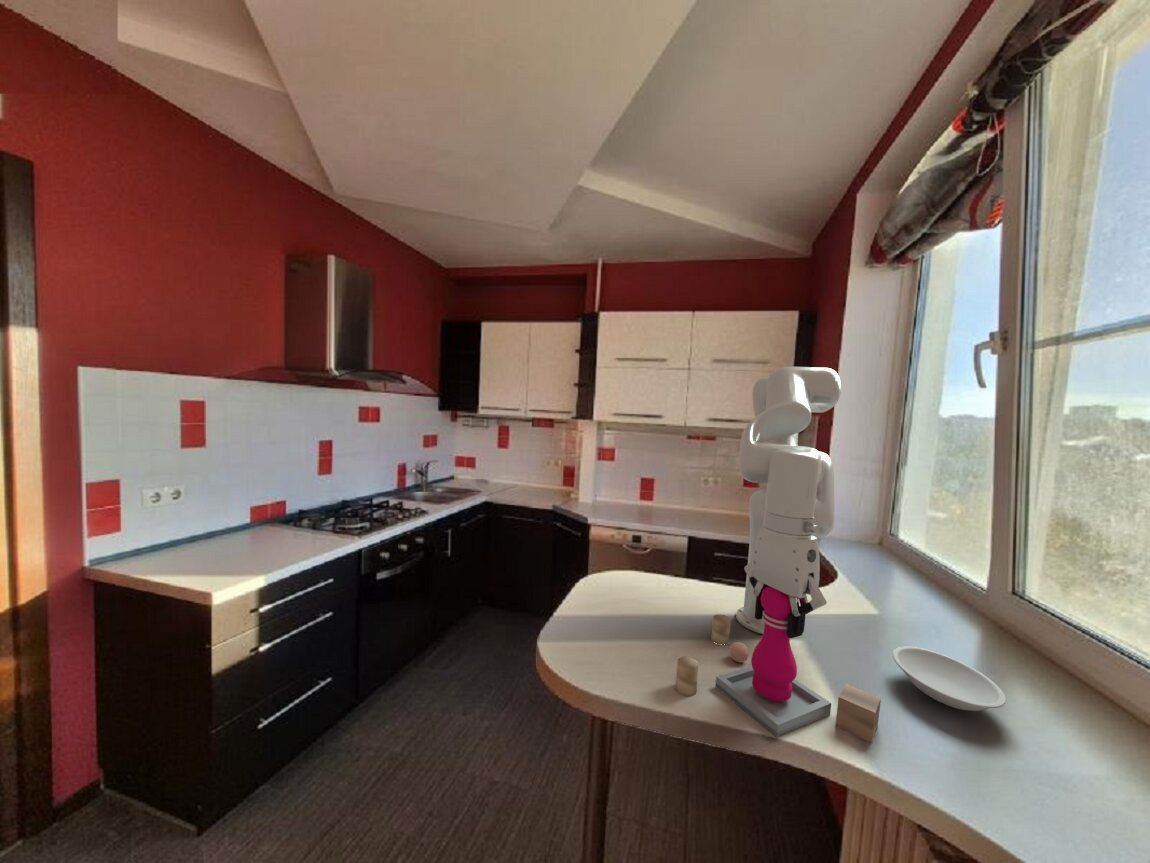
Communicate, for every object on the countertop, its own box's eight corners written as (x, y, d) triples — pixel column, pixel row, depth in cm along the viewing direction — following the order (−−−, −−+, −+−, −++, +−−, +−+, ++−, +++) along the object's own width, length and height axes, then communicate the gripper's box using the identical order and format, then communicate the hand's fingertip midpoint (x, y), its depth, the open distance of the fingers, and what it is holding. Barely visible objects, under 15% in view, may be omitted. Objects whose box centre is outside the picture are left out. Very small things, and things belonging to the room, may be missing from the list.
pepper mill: (799, 707, 74) (811, 589, 73) (753, 699, 76) (763, 583, 74) (788, 680, 81) (798, 572, 80) (746, 673, 83) (755, 567, 81)
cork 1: (686, 681, 83) (689, 654, 82) (700, 693, 79) (702, 666, 79) (671, 685, 81) (673, 659, 81) (684, 698, 78) (686, 670, 77)
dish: (870, 667, 91) (873, 643, 90) (944, 672, 90) (947, 648, 90) (938, 732, 73) (942, 703, 73) (1030, 739, 73) (1034, 709, 72)
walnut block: (842, 711, 77) (845, 683, 77) (877, 727, 74) (881, 698, 73) (835, 726, 73) (838, 696, 73) (871, 743, 70) (875, 712, 69)
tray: (765, 670, 87) (766, 660, 87) (830, 714, 76) (831, 703, 76) (715, 686, 81) (716, 676, 81) (776, 737, 70) (777, 724, 70)
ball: (737, 653, 93) (739, 637, 92) (752, 663, 89) (753, 646, 89) (724, 657, 91) (726, 640, 91) (738, 667, 88) (740, 649, 87)
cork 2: (719, 635, 100) (721, 613, 99) (732, 643, 97) (734, 621, 96) (707, 638, 98) (709, 616, 98) (719, 647, 95) (721, 624, 94)
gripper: (852, 537, 70) (840, 648, 72) (761, 509, 86) (753, 601, 87) (821, 541, 67) (809, 658, 68) (732, 511, 82) (724, 607, 84)
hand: (777, 625), depth 78 cm, fingers closed on pepper mill, 5 cm apart
